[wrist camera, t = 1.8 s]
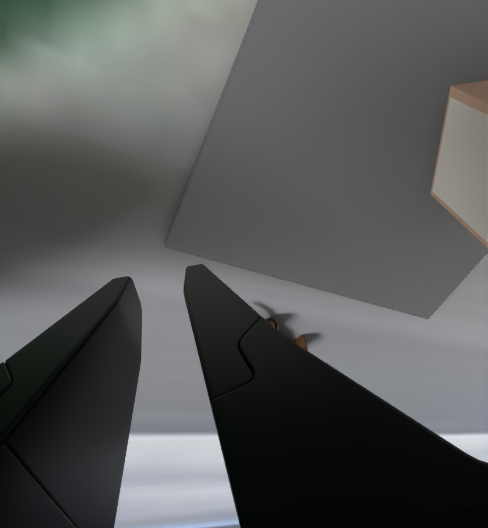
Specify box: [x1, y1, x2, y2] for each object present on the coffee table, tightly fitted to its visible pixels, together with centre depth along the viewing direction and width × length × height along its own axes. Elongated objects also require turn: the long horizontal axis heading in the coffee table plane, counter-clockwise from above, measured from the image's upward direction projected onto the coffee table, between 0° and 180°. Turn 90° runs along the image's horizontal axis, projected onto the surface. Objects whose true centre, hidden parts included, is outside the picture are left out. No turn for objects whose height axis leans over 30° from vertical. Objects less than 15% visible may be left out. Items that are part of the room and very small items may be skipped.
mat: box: [165, 0, 488, 319], centre depth 23 cm, size 18×20×1 cm
